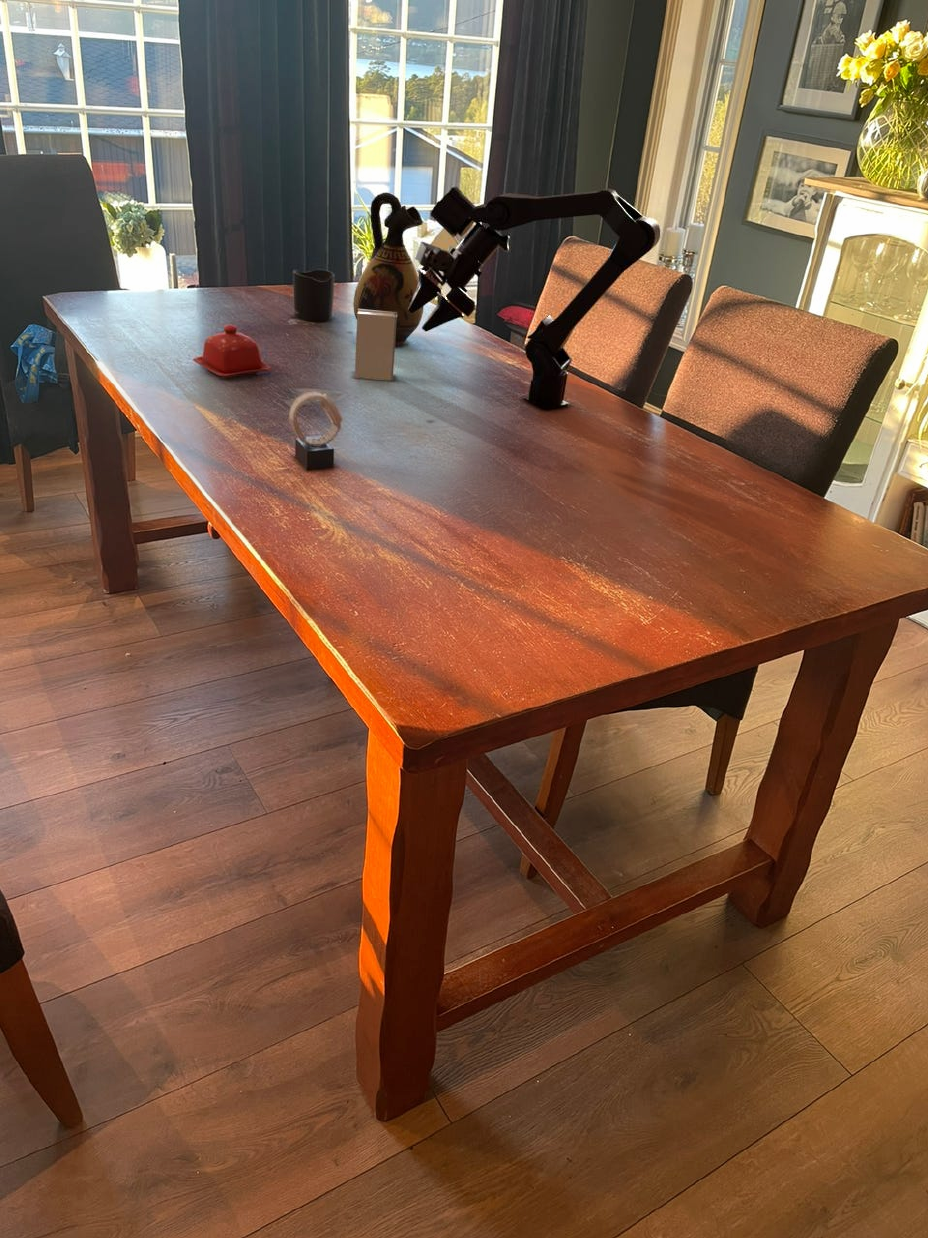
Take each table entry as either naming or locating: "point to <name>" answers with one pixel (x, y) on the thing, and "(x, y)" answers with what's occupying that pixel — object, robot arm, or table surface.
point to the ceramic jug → (391, 268)
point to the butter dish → (231, 354)
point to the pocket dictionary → (375, 344)
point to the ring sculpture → (315, 448)
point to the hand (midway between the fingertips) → (416, 320)
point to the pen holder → (313, 295)
